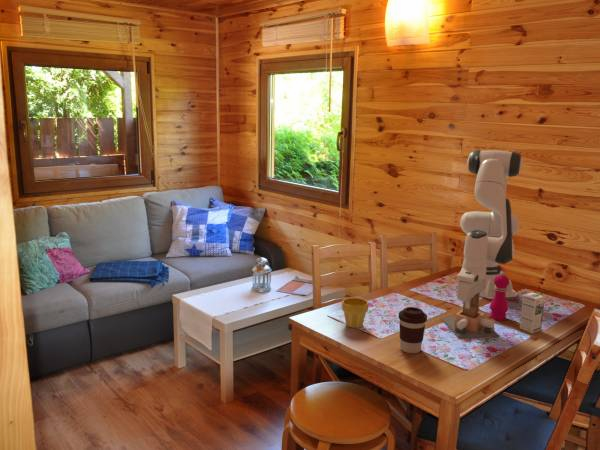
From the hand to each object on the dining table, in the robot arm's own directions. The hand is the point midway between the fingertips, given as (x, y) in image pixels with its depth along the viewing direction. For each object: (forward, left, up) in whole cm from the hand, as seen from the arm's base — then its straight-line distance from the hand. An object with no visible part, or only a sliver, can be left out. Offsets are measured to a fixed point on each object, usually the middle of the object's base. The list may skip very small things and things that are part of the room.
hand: (470, 306), depth 204 cm
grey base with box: (0, 0, -9) cm, 9 cm away
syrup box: (-24, +3, -10) cm, 26 cm away
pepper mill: (-17, -10, -10) cm, 22 cm away
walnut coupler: (0, 0, -4) cm, 4 cm away
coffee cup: (+29, +17, -10) cm, 35 cm away
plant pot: (+45, -6, -10) cm, 46 cm away
